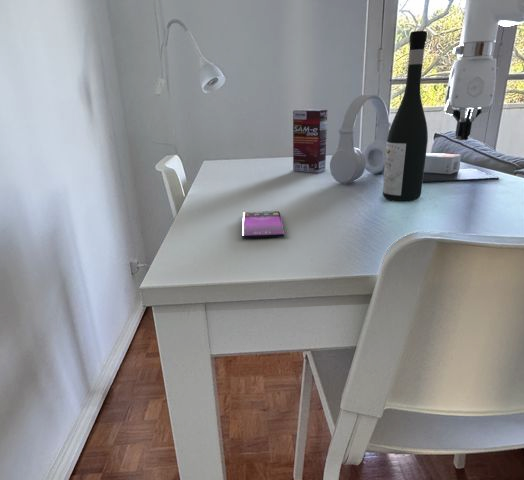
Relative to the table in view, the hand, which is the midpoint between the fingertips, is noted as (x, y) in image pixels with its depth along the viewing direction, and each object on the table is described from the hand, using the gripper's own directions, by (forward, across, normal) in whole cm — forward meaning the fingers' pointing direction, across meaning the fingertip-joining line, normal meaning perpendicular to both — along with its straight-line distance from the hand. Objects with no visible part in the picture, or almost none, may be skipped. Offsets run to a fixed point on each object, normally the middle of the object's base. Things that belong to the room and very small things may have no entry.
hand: (461, 139), depth 117 cm
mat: (+9, -3, 0) cm, 9 cm away
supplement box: (+9, -35, +19) cm, 41 cm away
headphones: (+9, -23, +4) cm, 25 cm away
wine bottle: (+9, -21, -22) cm, 32 cm away
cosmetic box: (+6, 0, +2) cm, 6 cm away
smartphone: (+9, -52, -39) cm, 66 cm away
